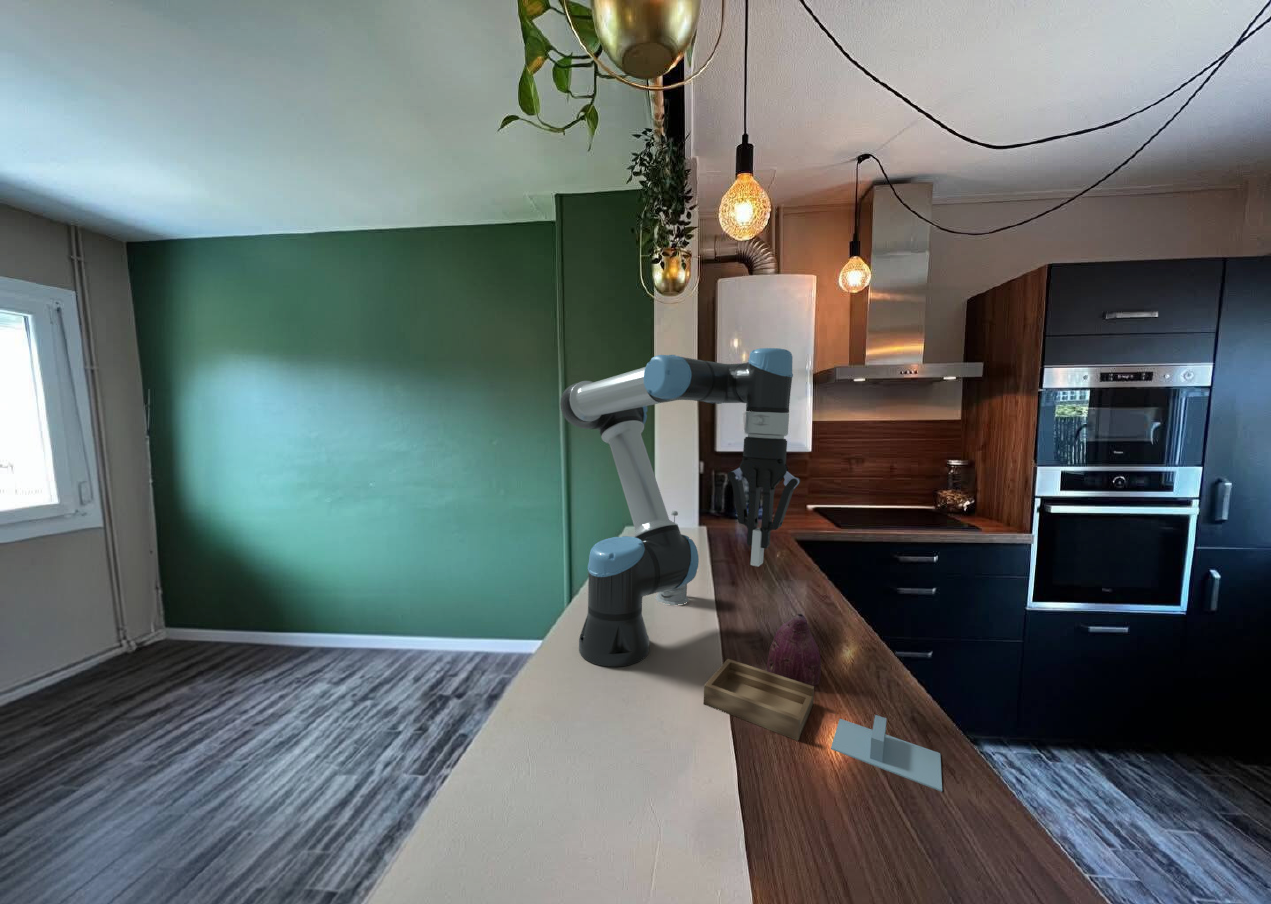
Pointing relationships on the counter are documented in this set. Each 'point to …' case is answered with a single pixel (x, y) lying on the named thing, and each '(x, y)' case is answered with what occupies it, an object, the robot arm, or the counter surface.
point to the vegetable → (795, 652)
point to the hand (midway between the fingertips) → (756, 563)
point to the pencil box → (760, 698)
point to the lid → (888, 752)
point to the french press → (674, 590)
